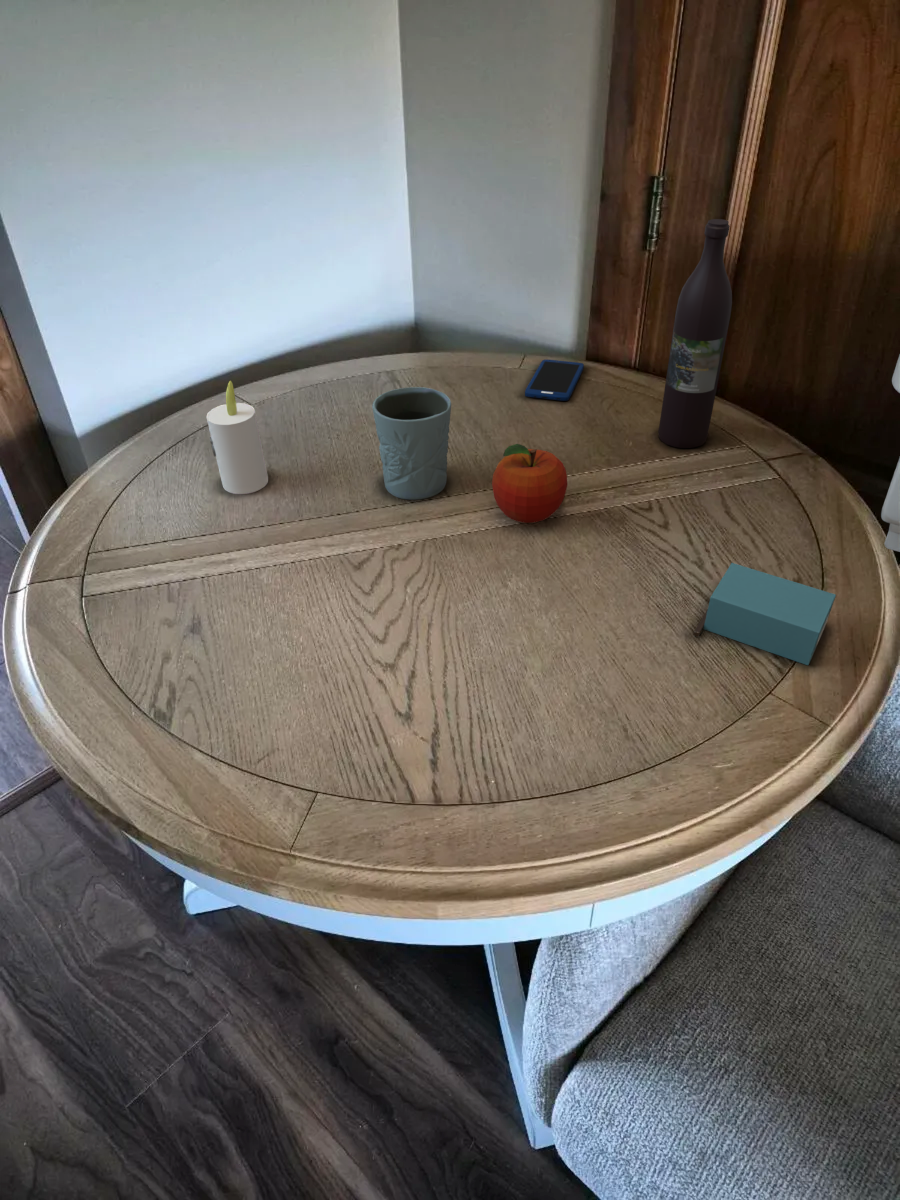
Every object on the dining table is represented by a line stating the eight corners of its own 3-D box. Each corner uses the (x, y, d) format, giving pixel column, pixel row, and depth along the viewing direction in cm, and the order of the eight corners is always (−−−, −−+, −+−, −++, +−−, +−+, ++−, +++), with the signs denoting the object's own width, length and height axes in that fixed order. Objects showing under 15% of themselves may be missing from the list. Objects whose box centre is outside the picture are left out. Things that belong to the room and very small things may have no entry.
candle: (219, 475, 117) (195, 375, 107) (265, 467, 118) (245, 368, 109) (223, 498, 112) (199, 395, 103) (271, 489, 114) (251, 387, 104)
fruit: (574, 528, 104) (580, 459, 98) (501, 538, 103) (502, 468, 96) (553, 489, 111) (557, 422, 105) (484, 498, 110) (484, 431, 104)
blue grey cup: (366, 493, 112) (358, 412, 104) (400, 458, 119) (394, 380, 111) (434, 508, 109) (430, 426, 101) (464, 472, 116) (463, 392, 108)
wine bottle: (648, 439, 121) (678, 223, 102) (674, 422, 125) (708, 211, 106) (690, 454, 117) (729, 233, 98) (715, 436, 121) (758, 220, 102)
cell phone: (523, 396, 133) (523, 392, 133) (542, 362, 143) (543, 358, 143) (568, 402, 131) (568, 397, 131) (584, 366, 141) (585, 362, 141)
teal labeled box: (825, 627, 88) (837, 594, 86) (808, 666, 84) (820, 633, 81) (724, 594, 93) (731, 562, 90) (703, 629, 89) (710, 597, 86)
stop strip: (728, 587, 94) (729, 583, 94) (698, 637, 88) (699, 633, 87) (723, 585, 94) (724, 581, 94) (692, 635, 88) (693, 631, 88)
